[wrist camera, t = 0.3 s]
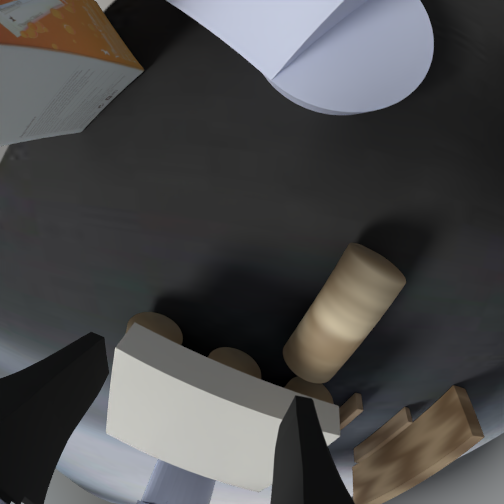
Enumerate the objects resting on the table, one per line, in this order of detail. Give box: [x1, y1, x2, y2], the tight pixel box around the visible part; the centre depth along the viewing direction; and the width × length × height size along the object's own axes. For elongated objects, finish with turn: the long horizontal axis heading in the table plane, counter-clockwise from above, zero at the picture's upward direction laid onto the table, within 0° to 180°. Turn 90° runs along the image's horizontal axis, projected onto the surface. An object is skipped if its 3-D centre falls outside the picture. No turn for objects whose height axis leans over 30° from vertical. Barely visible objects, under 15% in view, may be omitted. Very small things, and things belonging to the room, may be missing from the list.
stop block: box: [352, 385, 484, 504], centre depth 22 cm, size 16×2×6 cm, turn 157°
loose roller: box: [283, 243, 406, 383], centre depth 18 cm, size 8×4×4 cm, turn 157°
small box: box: [0, 0, 144, 146], centre depth 9 cm, size 8×6×13 cm
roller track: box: [126, 312, 413, 463], centre depth 22 cm, size 8×25×4 cm, turn 67°
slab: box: [106, 322, 340, 492], centre depth 19 cm, size 12×14×2 cm
